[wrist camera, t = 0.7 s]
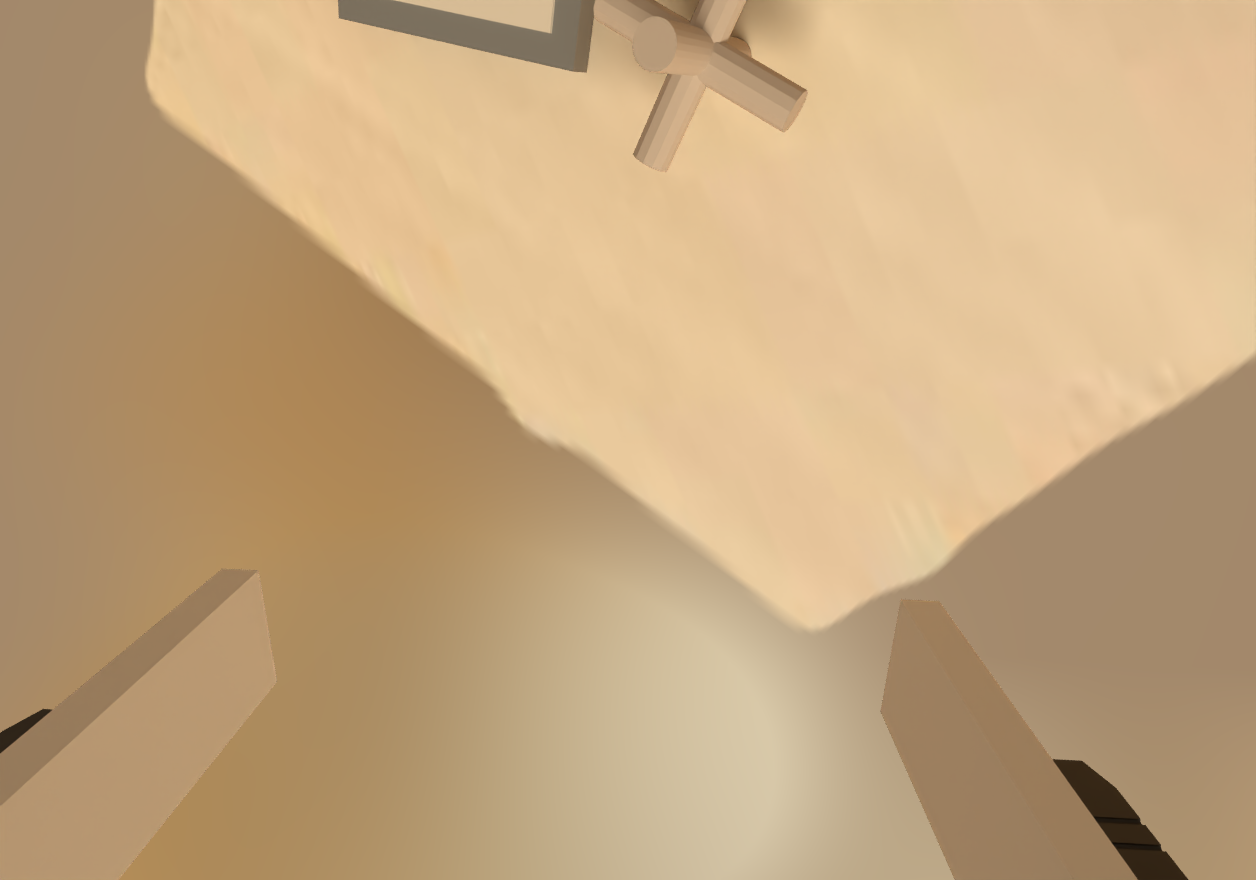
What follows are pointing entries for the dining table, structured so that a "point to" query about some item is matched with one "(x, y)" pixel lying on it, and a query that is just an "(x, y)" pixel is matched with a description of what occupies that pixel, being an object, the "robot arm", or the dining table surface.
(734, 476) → the dining table surface
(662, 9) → the pipe connector
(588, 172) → the dining table surface
